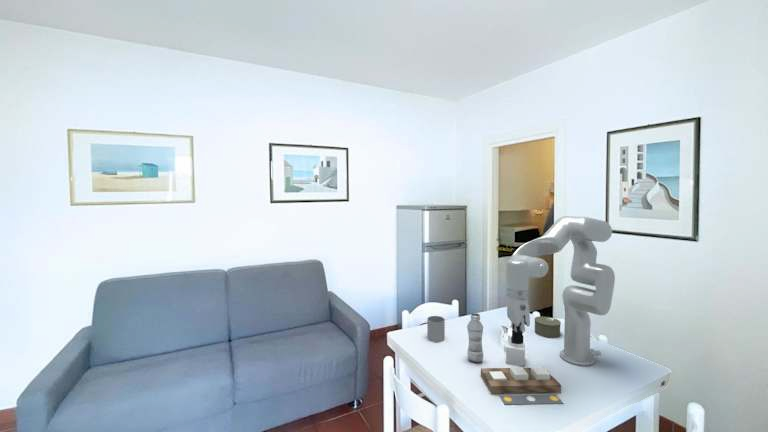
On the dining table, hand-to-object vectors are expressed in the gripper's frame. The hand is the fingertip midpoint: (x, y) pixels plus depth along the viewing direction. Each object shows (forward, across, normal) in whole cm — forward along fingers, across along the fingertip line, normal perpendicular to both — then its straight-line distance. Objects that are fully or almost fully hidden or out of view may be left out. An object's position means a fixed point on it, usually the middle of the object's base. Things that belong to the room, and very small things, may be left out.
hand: (517, 341), depth 119 cm
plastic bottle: (+17, +17, +11) cm, 26 cm away
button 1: (+16, 0, +8) cm, 17 cm away
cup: (+17, +39, +24) cm, 49 cm away
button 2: (+15, 0, -8) cm, 17 cm away
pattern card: (+16, -10, -1) cm, 19 cm away
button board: (+16, 0, 0) cm, 16 cm away
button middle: (+14, 0, 0) cm, 14 cm away
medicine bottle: (+17, +17, -6) cm, 25 cm away
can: (+18, +44, -34) cm, 58 cm away
